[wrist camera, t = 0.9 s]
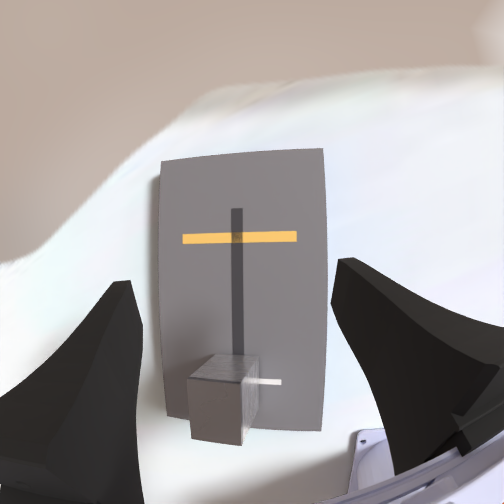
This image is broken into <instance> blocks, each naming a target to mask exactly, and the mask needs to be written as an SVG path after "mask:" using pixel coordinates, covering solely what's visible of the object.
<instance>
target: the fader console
mask: <svg viewBox="0 0 504 504" xmlns="http://www.w3.org/2000/svg"><path fill="white" fill-rule="evenodd" d="M158 278H159V313H160V335H161V351H162V365H163V378H164V389H165V399H166V409H167V416H169V417H175V418H180V419H186V420H190V417H189V405H188V392H187V378H188V377H189V376H190V375H192V374H193V373H194V372H195V371H196V370H198V369H199V368H200V367H201V366H202V365H203V364H205V363H206V362H207V361H208V360H209V359H210V358H212V357H213V356H214V355H215V354H228V355H245V356H259V409H258V411H257V414H256V416H255V418H254V420H253V422H252V425H251V427H250V428H258V429H272V430H290V431H321V427H322V415H323V401H324V385H325V366H326V342H327V295H328V263H327V216H326V191H325V172H324V156H323V148H316V149H290V150H272V151H256V152H243V153H231V154H221V155H211V156H201V157H193V158H184V159H176V160H169V161H161V171H160V192H159V227H158Z"/></svg>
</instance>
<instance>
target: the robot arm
mask: <svg viewBox="0 0 504 504" xmlns="http://www.w3.org/2000/svg"><path fill="white" fill-rule="evenodd" d="M331 306H332V309H333V312H334V315H335V317H336V320H337V322H338V325H339V327H340V329H341V331H342V333H343V335H344V337H345V338H346V340H347V342H348V344H349V346H350V348H351V349H352V351H353V353H354V355H355V357H356V359H357V361H358V362H359V364H360V366H361V368H362V370H363V372H364V374H365V376H366V378H367V380H368V382H369V385H370V388H371V390H372V393H373V396H374V398H375V401H376V404H377V407H378V410H379V413H380V416H381V419H382V422H383V426H384V429H374V430H362V431H360V432H359V433H358V435H357V441H356V448H355V454H354V460H353V466H352V472H351V477H350V482H349V488H348V492H347V494H345V495H342V496H338V497H335V498H332V499H328V500H325V501H321V502H317V503H313V504H502V503H503V502H504V327H499V326H495V325H491V324H488V323H484V322H481V321H477V320H474V319H471V318H468V317H466V316H463V315H460V314H457V313H455V312H452V311H450V310H448V309H445V308H443V307H441V306H439V305H437V304H435V303H432V302H430V301H428V300H426V299H424V298H423V297H421V296H419V295H417V294H415V293H413V292H412V291H410V290H408V289H406V288H405V287H403V286H401V285H400V284H398V283H396V282H395V281H393V280H391V279H390V278H388V277H386V276H385V275H383V274H381V273H380V272H378V271H377V270H375V269H373V268H372V267H370V266H368V265H367V264H365V263H363V262H361V261H360V260H358V259H356V258H354V257H352V258H343V259H338V263H337V269H336V275H335V281H334V287H333V293H332V298H331ZM142 351H143V324H142V321H141V317H140V314H139V310H138V307H137V303H136V300H135V296H134V292H133V288H132V284H131V281H130V280H127V281H115V282H113V283H112V284H111V285H110V287H109V288H108V289H107V290H106V292H105V293H104V294H103V295H102V297H101V298H100V299H99V301H98V302H97V303H96V305H95V306H94V307H93V308H92V310H91V311H90V312H89V313H88V315H87V316H86V317H85V319H84V320H83V321H82V322H81V323H80V325H79V326H78V327H77V328H76V329H75V330H74V332H73V333H72V334H71V335H70V336H69V337H68V339H67V340H66V341H65V342H64V343H63V344H62V345H61V346H60V347H59V348H58V349H57V350H56V351H55V352H54V353H53V354H52V355H51V356H50V357H49V358H48V359H47V360H46V361H45V362H44V363H43V364H42V365H41V366H40V367H38V368H37V369H36V370H35V371H34V372H33V373H32V374H30V375H29V376H28V377H27V378H26V379H25V380H23V381H22V382H21V383H19V384H18V385H17V386H16V387H14V388H13V389H11V390H10V391H9V392H7V393H6V394H4V395H3V396H1V397H0V484H1V488H0V504H144V498H143V492H142V486H141V479H140V471H139V462H138V450H137V434H136V404H137V394H138V385H139V376H140V368H141V360H142ZM361 440H365V442H360V441H361Z"/></svg>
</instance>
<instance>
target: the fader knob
mask: <svg viewBox="0 0 504 504" xmlns="http://www.w3.org/2000/svg"><path fill="white" fill-rule="evenodd" d="M187 392H188V405H189V417H190V428H191V438H192V439H196V440H202V441H208V442H215V443H222V444H229V445H237V446H242V444H243V442H244V440H245V438H246V435H247V433H248V431H249V429H250V427H251V425H252V422H253V420H254V418H255V416H256V414H257V411H258V409H259V356H245V355H228V354H215V355H214V356H213V357H212V358H210V359H209V360H208V361H207V362H206V363H205V364H203V365H202V366H201V367H200V368H199V369H198V370H196V371H195V372H194V373H193V374H192V375H190V376H189V377H188V378H187Z"/></svg>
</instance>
